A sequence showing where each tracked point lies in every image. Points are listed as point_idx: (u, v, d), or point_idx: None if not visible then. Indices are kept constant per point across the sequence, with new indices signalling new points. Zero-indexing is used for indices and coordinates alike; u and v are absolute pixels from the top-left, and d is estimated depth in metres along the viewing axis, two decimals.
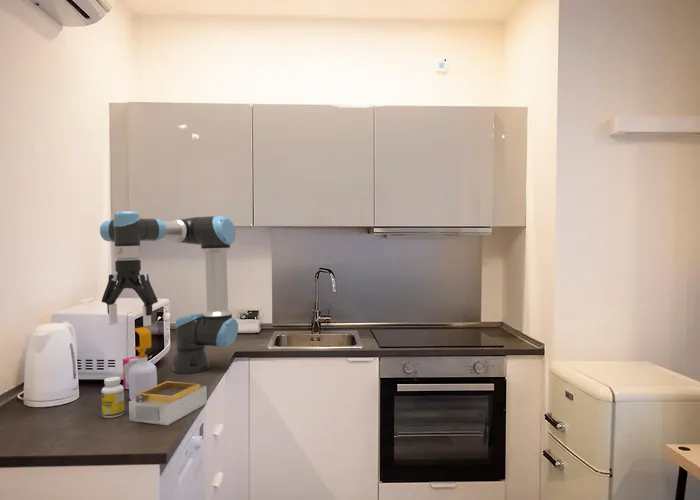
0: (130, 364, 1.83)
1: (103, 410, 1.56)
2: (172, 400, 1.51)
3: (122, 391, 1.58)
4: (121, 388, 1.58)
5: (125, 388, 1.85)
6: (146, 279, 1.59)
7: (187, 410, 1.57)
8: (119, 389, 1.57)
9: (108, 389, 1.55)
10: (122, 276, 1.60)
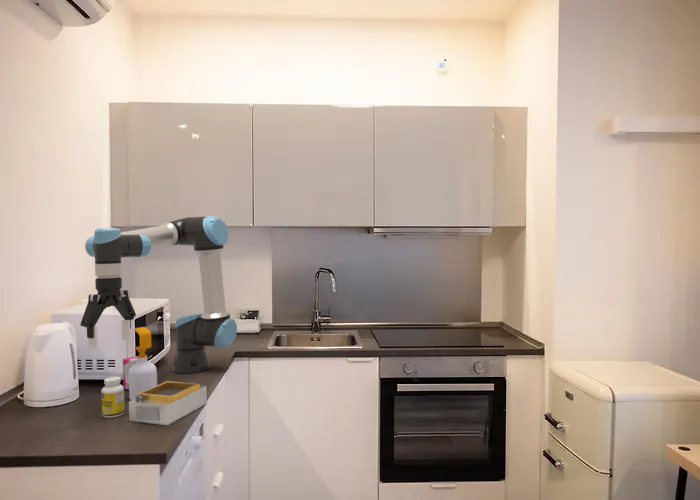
0: (130, 364, 1.83)
1: (103, 410, 1.56)
2: (172, 400, 1.51)
3: (122, 391, 1.58)
4: (121, 388, 1.58)
5: (125, 388, 1.85)
6: (91, 300, 1.51)
7: (187, 410, 1.57)
8: (119, 389, 1.57)
9: (108, 389, 1.55)
10: None
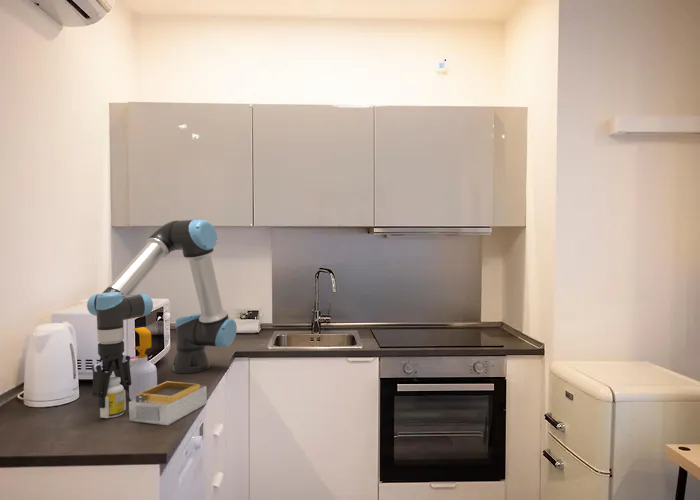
0: (130, 364, 1.83)
1: None
2: (172, 400, 1.51)
3: (122, 391, 1.58)
4: (121, 388, 1.58)
5: None
6: (96, 371, 1.52)
7: (187, 410, 1.57)
8: (119, 389, 1.57)
9: (108, 389, 1.55)
10: None
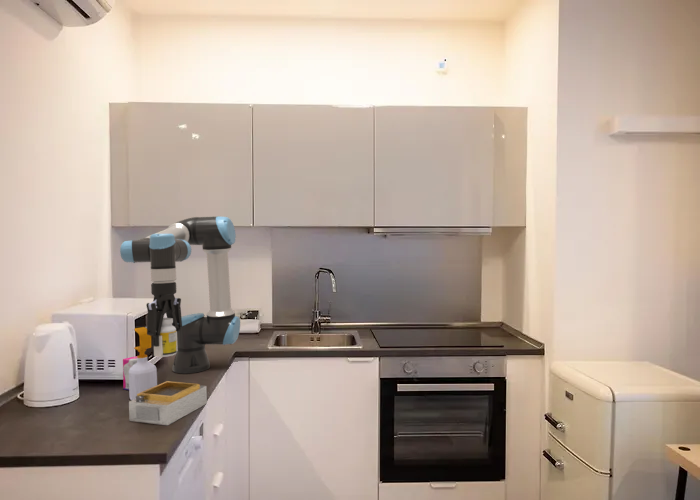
0: (130, 364, 1.83)
1: None
2: (172, 400, 1.51)
3: (175, 331, 1.59)
4: (174, 328, 1.59)
5: (125, 388, 1.85)
6: (150, 309, 1.53)
7: (187, 410, 1.57)
8: (172, 329, 1.58)
9: (161, 328, 1.56)
10: None
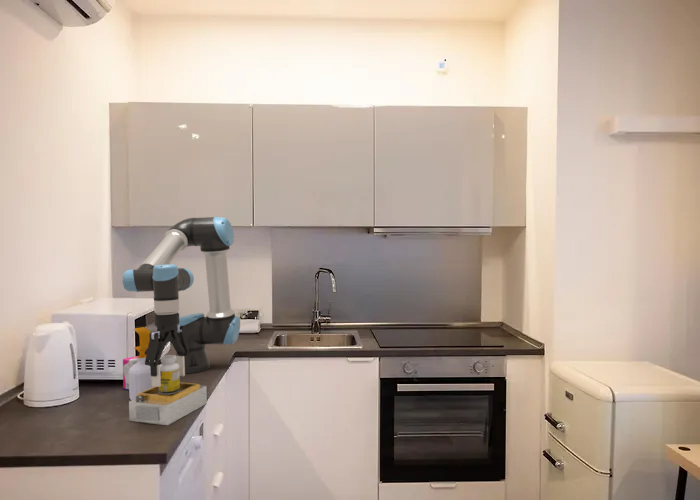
0: (130, 364, 1.83)
1: (160, 387, 1.57)
2: (172, 400, 1.51)
3: (178, 369, 1.59)
4: (177, 366, 1.59)
5: (125, 388, 1.85)
6: (153, 338, 1.53)
7: (187, 410, 1.57)
8: (175, 367, 1.58)
9: (165, 367, 1.57)
10: None
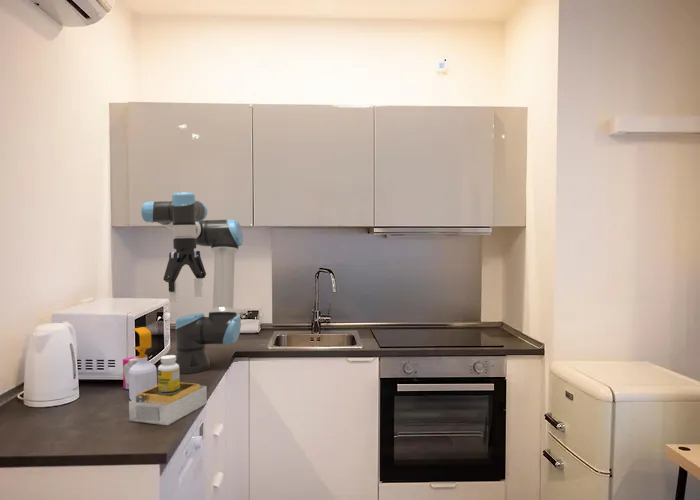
0: (130, 364, 1.83)
1: (160, 387, 1.57)
2: (172, 400, 1.51)
3: (178, 369, 1.59)
4: (177, 366, 1.59)
5: (125, 388, 1.85)
6: (172, 257, 1.65)
7: (187, 410, 1.57)
8: (175, 367, 1.58)
9: (165, 367, 1.57)
10: None
